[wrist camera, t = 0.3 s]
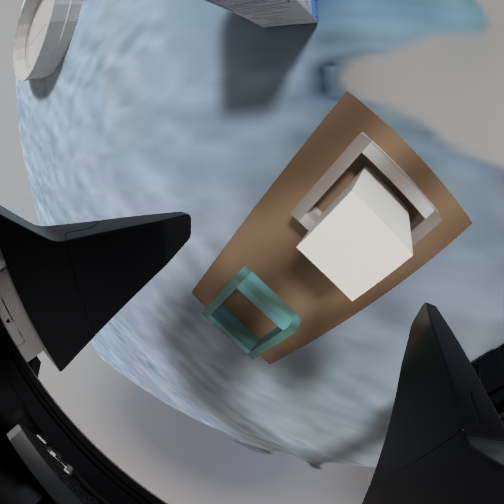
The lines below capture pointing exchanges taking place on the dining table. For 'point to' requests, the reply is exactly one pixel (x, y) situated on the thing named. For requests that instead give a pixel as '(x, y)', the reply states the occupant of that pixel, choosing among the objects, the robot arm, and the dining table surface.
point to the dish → (43, 36)
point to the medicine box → (272, 11)
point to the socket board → (299, 223)
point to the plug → (360, 235)
